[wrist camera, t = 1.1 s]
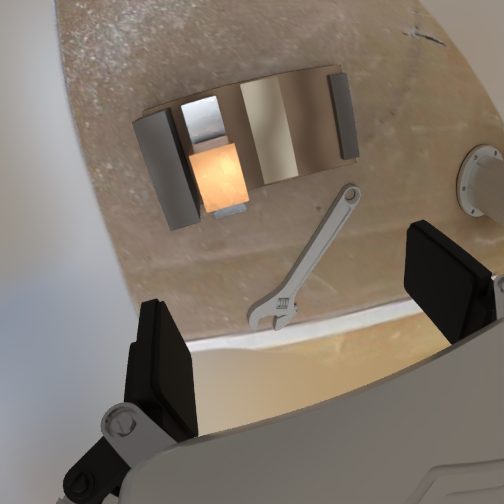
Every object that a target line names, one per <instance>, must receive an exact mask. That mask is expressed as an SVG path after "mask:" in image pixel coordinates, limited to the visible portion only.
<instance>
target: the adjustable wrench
mask: <svg viewBox="0 0 504 504" xmlns="http://www.w3.org/2000/svg"><path fill="white" fill-rule="evenodd" d="M351 188H352V189H354V190H355V196H354V198H353V199H351V200H346V199H345V194H346V192H347V191H348V190H349V189H351ZM360 198H361V192H360V190H359V189H358V188H357V187H356V186H354V185H352V184H348V185H346V186H344V187H343V188H342V189H341V191H340V193H339V194H338V196H337V198H336V199H335V201H334V202H333V204H332V206H331V207H330V209H329V211H328V212H327V214H326V215H325V217H324V219H323V220H322V222H321V223H320V225H319V227H318V228H317V230H316V231H315V233H314V235H313V236H312V238H311V239H310V241H309V243H308V244H307V246H306V247H305V249H304V250H303V252H302V254H301V255H300V257H299V258H298V260H297V261H296V263H295V264H294V266H293V268H292V269H291V271H290V272H289V274H288V275H287V277H286V278H285V280H284V281H283V282H282V284H281V285H280V286H279V287H278V288H276V289H275V290H274V291H273V292H271V293H270V294H268V295H267V296H266V297H264V298H262V299H261V300H259V301H257V302H256V303H254V304H253V305H252V306H251V308H250V309H249V312H248V320H249V324H250V327H251V328H252V329H253V330H254V331H257V327H258V321H259V319H261V318H263V317H266V316H268V315H275V318H274V323H273V327H274V330H275V331H278V330H280V329H281V328H283V327H284V326H286V325H287V324H288V323H289V322H290V320H291V319H292V317H293V316H294V314H297V311H296V310H297V305H296V304H294V298H295V295H296V293H297V291H298V290H299V288H300V287H301V285H302V284H303V283H304V281H305V280H306V278H307V277H308V276H309V274H310V273H311V271H312V270H313V268H314V267H315V266H316V264H317V263H318V261H319V260H320V258H321V257H322V256H323V254H324V253H325V251H326V250H327V248H328V247H329V245H330V244H331V242H332V241H333V240H334V238H335V237H336V235H337V234H338V232H339V231H340V229H341V228H342V226H343V225H344V223H345V222H346V220H347V219H348V217H349V216H350V214H351V213H352V211H353V210H354V208H355V207H356V205H357V204H358V202H359V200H360Z"/></svg>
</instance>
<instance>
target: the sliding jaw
mask: <svg viewBox="0 0 504 504" xmlns="http://www.w3.org/2000/svg"><path fill="white" fill-rule="evenodd" d="M181 107H182V111H183V114H184V118H185V121H186V124H187V128H188V131H189V134H190V138H191V141H192V144H193V145H191V146H190V151H189V158H190V161H191V165H192V168H193V171H194V174H195V177H196V180H197V184H198V187H199V190H200V193H201V196H202V199H203V202H204V205H205V208H206V212H207V213H209V212H212V211H213V212H214V215H215V218H216V219H220V218H223V217H226V216H230V215H233V214H237V213H240V212H244V211H247V209H246V206H245V202H246V201H250V200H249V197H248V193H247V189H246V185H245V181H244V178H243V174H242V170H241V166H240V162H239V159H238V155H237V151H236V147H235V144H234V142H233V140H232V139H231V137H230V136H229V135H226V132H225V128H224V124H223V121H222V117H221V113H220V110H219V106H218V102H217V99H216V96H215V95H213V94H212V95H208V96H205V97H201V98H198V99H194V100H191V101H188V102H185V103H183V104H182V105H181Z"/></svg>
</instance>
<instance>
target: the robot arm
mask: <svg viewBox="0 0 504 504" xmlns="http://www.w3.org/2000/svg"><path fill="white" fill-rule="evenodd" d="M457 197H458V201H459V204H460V206H461V208H462V209H463V211H465V212H466V213H467V214H469V215H470V216H473V217H480V216H482V215H487V216H488V217H490V218H491V219H493V220H494V221H496V222H497V223H499V224H500V225H502V226H503V227H504V160H503V157H502V155H501V153H500V152H499V151H498V150H497V149H496V148H495V147H492V146H490V145H485V144H484V145H480V146H478V147H476V148H474V149H473V150H472V151H471V152H470V153H469V154H468V155H467V157H466V159H465V160H464V162H463V164H462V166H461V169H460V172H459V176H458V181H457ZM491 276H492V273H491V272H490V271H489V270H488V269H487V268H486V267H484V266H483V265H482V264H481V263H480V262H478V261H477V260H476V259H475V258H474V257H472V256H471V255H470V254H469V253H467V252H466V251H465V250H464V249H462V248H461V247H460V246H459V245H457V244H456V243H455V242H453V241H452V240H451V239H450V238H448V237H447V236H446V235H444V234H443V233H442V232H440V231H439V230H438V229H436V228H435V227H434V226H432V225H431V224H430V223H428V222H427V221H425V220H420V221H417V222H414V223H412V224H410V227H409V228H408V229H407V240H406V259H405V274H404V287H405V290H406V292H407V293H408V294H409V295H410V296H411V297H412V298H413V300H414V301H415V302H416V303H417V304H418V305H419V306H420V308H421V309H422V310H423V311H424V312H425V313H426V315H427V316H428V317H429V318H430V319H431V320H432V322H433V323H434V324H435V325H436V326H437V328H438V329H439V330H440V331H441V332H442V334H443V335H444V336H445V337H446V339H447V340H448V341H449V342H450V343H451V344H452V345H451V346H449V347H447V348H445V349H443V350H441V351H440V352H438V353H436V354H434V355H432V356H430V357H428V358H426V359H423V360H421V361H419V362H417V363H415V364H413V365H411V366H409V367H407V368H405V369H402V370H400V371H398V372H396V373H393V374H391V375H389V376H387V377H384V378H382V379H380V380H377V381H375V382H372V383H370V384H367V385H366V386H363V387H360V388H358V389H355V390H353V391H350V392H347V393H344V394H342V395H339V396H336V397H334V398H331V399H328V400H325V401H322V402H320V403H317V404H314V405H311V406H308V407H305V408H302V409H298V410H296V411H292V412H289V413H286V414H282V415H279V416H276V417H272V418H268V419H265V420H261V421H258V422H255V423H251V424H247V425H243V426H239V427H236V428H232V429H227V430H223V431H219V432H215V433H211V434H208V435H204V436H200V437H198V424H197V414H196V404H195V393H194V381H193V368H192V358H191V354H190V351H189V349H188V347H187V346H186V344H185V342H184V340H183V338H182V336H181V334H180V332H179V330H178V328H177V326H176V324H175V322H174V320H173V318H172V316H171V314H170V312H169V310H168V308H167V306H166V304H165V302H164V301H161V302H159V300H158V299H153V300H149V301H146V302H142V304H141V309H140V317H139V324H138V333H137V340H136V342H133V343H131V345H130V349H129V357H128V365H127V375H126V383H125V394H124V403H119V404H117V405H114V406H113V407H111V408H110V409H109V410H108V411H107V412H106V413H105V415H104V416H103V418H102V421H101V432H102V434H103V435H104V436H103V437H102V438H101V439H100V440H99V441H98V442H97V443H96V444H95V445H94V446H93V447H92V448H91V449H90V450H89V451H88V452H87V453H86V454H85V455H84V456H83V457H82V458H81V459H80V460H79V461H78V462H77V463H76V464H75V465H74V466H73V467H72V468H71V469H70V470H69V471H68V472H67V474H66V475H65V477H64V480H63V489H64V493H65V496H64V498H63V499H61V498H59V499H58V501H57V503H56V504H504V274H502V275H499V276H497V277H496V278H495V280H494V281H493V280H492V279H491ZM194 437H196V438H194Z"/></svg>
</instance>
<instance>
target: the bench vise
mask: <svg viewBox="0 0 504 504" xmlns="http://www.w3.org/2000/svg"><path fill="white" fill-rule="evenodd" d="M212 94H213V95H215V96H216V99H217V102H218V106H219V110H220V113H221V117H222V121H223V124H224V128H225V132H226V135H229V136H230V137H231V139H232V140H233V142H234V144H235V147H236V151H237V155H238V159H239V162H240V166H241V170H242V174H243V178H244V181H245V185H246V189H247V191H249V190H252V189H256V188H259V187H263V186H267V185H270V184H274V183H278V182H281V181H285V180H289V179H293V178H297V177H301V176H305V175H308V174H312V173H316V172H320V171H325V170H329V169H333V168H337V167H341V166H345V165H350V164H354V163H357V161H356V158H357V157H359V149H358V142H357V134H356V127H355V121H354V114H353V108H352V102H351V97H350V91H349V86H348V80H347V75H346V73H342V69H341V65H332V66H324V67H317V68H310V69H304V70H298V71H292V72H286V73H281V74H276V75H271V76H266V77H261V78H256V79H252V80H247V81H243V82H239V83H234V84H230V85H226V86H223V87H219V88H215V89H211V90H208V91H204V92H201V93H197V94H194V95H190V96H187V97H184V98H181V99H177V100H174V101H171V102H168V103H165V104H162V105H159V106H156V107H153V108H150V109H148V110H145V111H143V112H142V115H143V117H141V118H139V119H137V120H136V121H134V122H132V124H133V127H134V130H135V133H136V136H137V139H138V142H139V145H140V148H141V151H142V154H143V157H144V160H145V162H146V165H147V168H148V171H149V174H150V177H151V179H152V182H153V185H154V188H155V190H156V193H157V196H158V199H159V201H160V204H161V207H162V209H163V212H164V214H165V217H166V220H167V222H168V225H169V228H170V230H171V231H173V230H176V229H179V228H183V227H186V226H189V225H192V224H196V223H199V222H200V205H201V204H204V202H203V199H202V196H201V193H200V190H199V187H198V184H197V180H196V177H195V174H194V171H193V168H192V165H191V161H190V158H189V151H190V146H191V145H193V144H192V141H191V138H190V134H189V131H188V128H187V124H186V121H185V118H184V114H183V111H182V107H181V105H182V104H183V103H185V102H188V101H191V100H194V99H198V98H201V97H205V96H208V95H212Z"/></svg>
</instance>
